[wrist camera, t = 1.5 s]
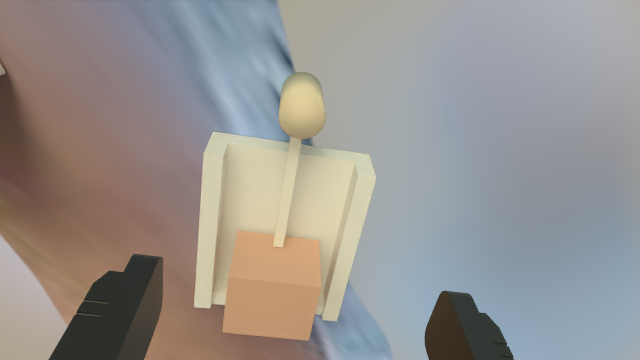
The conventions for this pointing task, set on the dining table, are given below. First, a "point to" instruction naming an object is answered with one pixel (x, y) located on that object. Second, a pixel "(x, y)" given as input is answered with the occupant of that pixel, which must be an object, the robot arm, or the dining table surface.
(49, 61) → the dining table surface
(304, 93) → the peach block with knob
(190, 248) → the dining table surface
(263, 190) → the shelf lane
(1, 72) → the skincare box
